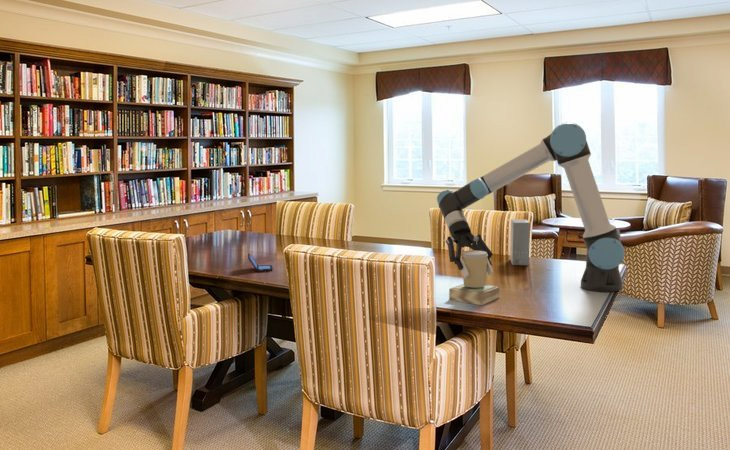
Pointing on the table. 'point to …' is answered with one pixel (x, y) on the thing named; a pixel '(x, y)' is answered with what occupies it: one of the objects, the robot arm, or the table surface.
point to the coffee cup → (475, 268)
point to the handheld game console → (261, 267)
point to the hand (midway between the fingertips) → (479, 275)
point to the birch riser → (474, 294)
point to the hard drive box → (519, 242)
